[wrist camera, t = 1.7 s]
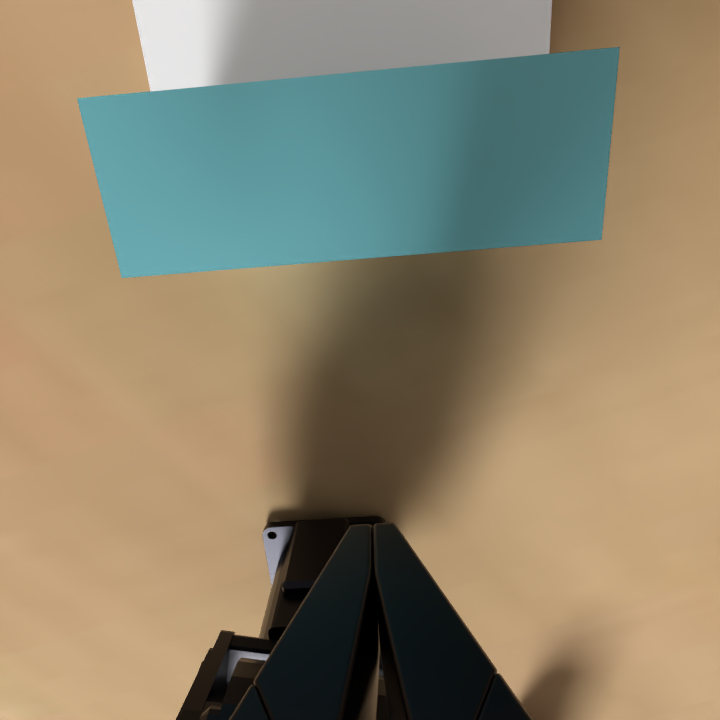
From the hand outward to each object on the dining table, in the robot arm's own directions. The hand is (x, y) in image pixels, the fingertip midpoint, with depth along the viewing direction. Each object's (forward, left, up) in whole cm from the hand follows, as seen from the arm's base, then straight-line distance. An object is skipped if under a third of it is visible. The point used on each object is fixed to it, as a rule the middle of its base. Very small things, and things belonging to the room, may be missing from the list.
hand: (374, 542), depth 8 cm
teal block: (+7, 0, -12) cm, 14 cm away
